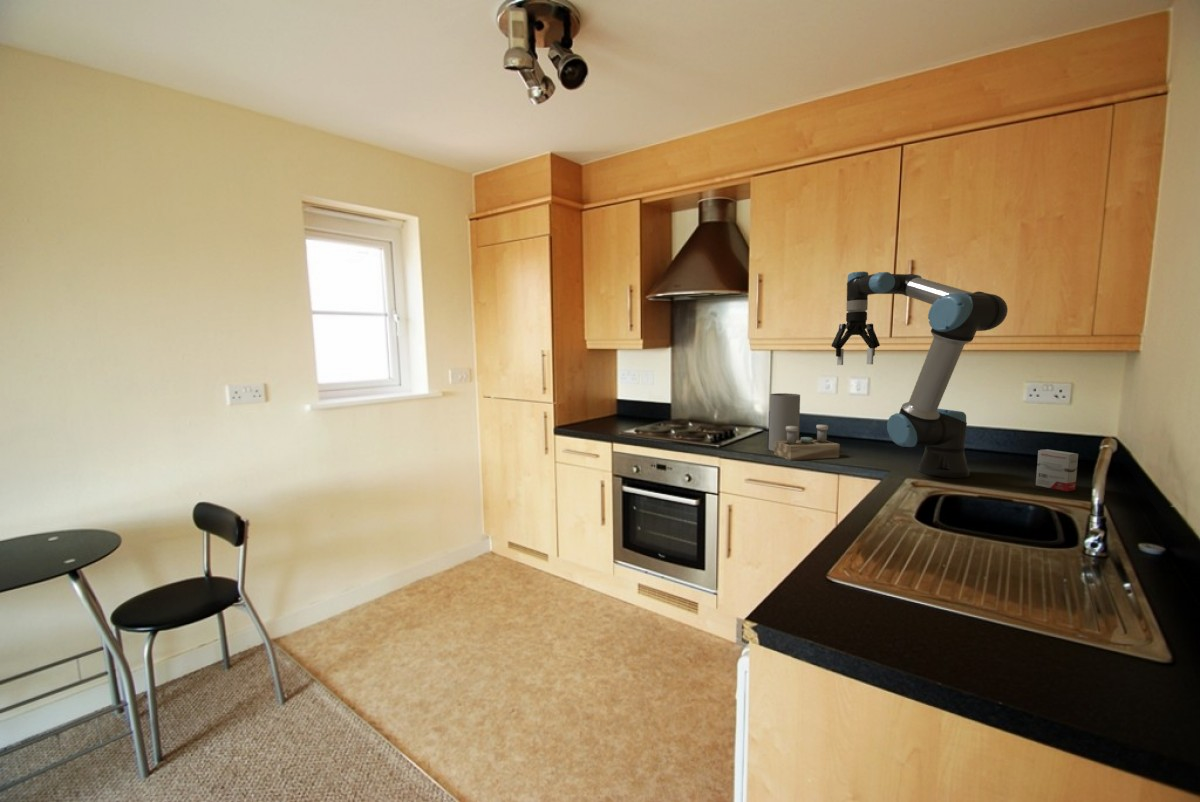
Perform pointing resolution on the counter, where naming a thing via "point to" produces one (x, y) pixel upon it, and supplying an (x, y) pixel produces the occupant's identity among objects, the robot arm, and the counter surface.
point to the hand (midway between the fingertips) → (855, 364)
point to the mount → (807, 450)
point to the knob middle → (806, 440)
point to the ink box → (1057, 470)
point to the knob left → (791, 434)
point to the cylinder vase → (783, 416)
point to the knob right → (821, 433)
